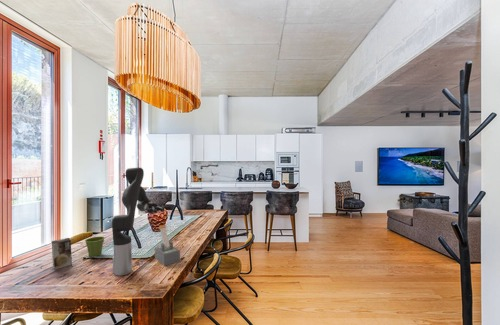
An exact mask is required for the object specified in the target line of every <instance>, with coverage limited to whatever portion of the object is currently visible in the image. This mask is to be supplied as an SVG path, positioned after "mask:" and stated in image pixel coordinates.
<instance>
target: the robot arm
mask: <svg viewBox="0 0 500 325" xmlns="http://www.w3.org/2000/svg"><path fill="white" fill-rule="evenodd" d="M144 172H145V171H144V169H143V168H142V167H129V168H127V169H125V178H126V181H127V182H128V184H129V185H128V186H127V187H125V189H124V190H123V193H122V196H121V202H122V204H123V206H124V207H125V209H126V210H127V214H119V215H114V216H113V217H112V221H111V229H112V240H113V241H112V242H113V256H112V274H114V275H115V276H118V277H119V276H120V277H121V276H126V275H129V274H131V273H132V272H133V257H132V256H133V254H132V237H131V236H130V235H127V234H124V233H123V232H129V231H132V229H133V228H134V223H135V216H136V215H135V214H136V208H137V210H139V212H144V213H148V214H158V212H159V213H164V212H165V205H162V206H159V205H158V204H157V203H155V202H152V201H151V200H150V199H149V197H148V196H147V193H146V190H145V188H144V187H143V186H142V182H143V180H144V176H145V173H144Z"/></svg>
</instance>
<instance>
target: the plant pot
mask: <svg viewBox="0 0 500 325" xmlns="http://www.w3.org/2000/svg"><path fill="white" fill-rule="evenodd" d="M104 239H106V237H105V236H94V237H89V238H86V239H84V242H85V244H86V248H87V252H88V257H91V258H92V257H93V258H95V257H94V256H96V257H98V255H99V256H101V255H102V251H103V244H104V241H105V240H104ZM100 254H101V255H100Z"/></svg>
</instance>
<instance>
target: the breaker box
mask: <svg viewBox="0 0 500 325" xmlns="http://www.w3.org/2000/svg"><path fill="white" fill-rule="evenodd" d="M169 244H170V247H169V248H164V243H160V246H157V247H154V254H155V255H154V258H155V260H157V261H158V262H159V264H162V265H163V266H164V267H166V266H169V265H173V264H176V263H179V262H181V254H180V252H181V251H180V250H179V249H178V248H176V247H175V246H174V245H173V244H174V243H173V241H169Z"/></svg>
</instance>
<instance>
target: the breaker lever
mask: <svg viewBox="0 0 500 325" xmlns="http://www.w3.org/2000/svg"><path fill="white" fill-rule="evenodd" d="M166 228H167V226H166V224H160V225H159V226H158V229H159V230H160V235H161V237H162V242H163V244H164V248H169V247H170V241H169V237H168V232H167V229H166Z"/></svg>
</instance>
